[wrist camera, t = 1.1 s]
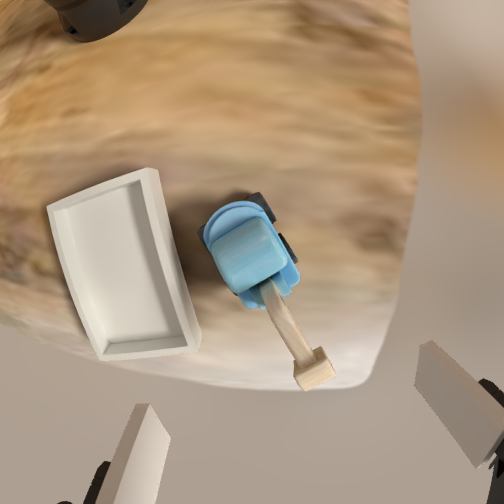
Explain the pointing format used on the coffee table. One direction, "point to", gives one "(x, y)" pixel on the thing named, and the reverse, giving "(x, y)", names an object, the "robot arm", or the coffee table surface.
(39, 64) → the coffee table surface
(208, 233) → the toy excavator
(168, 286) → the white tray
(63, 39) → the coffee table surface
